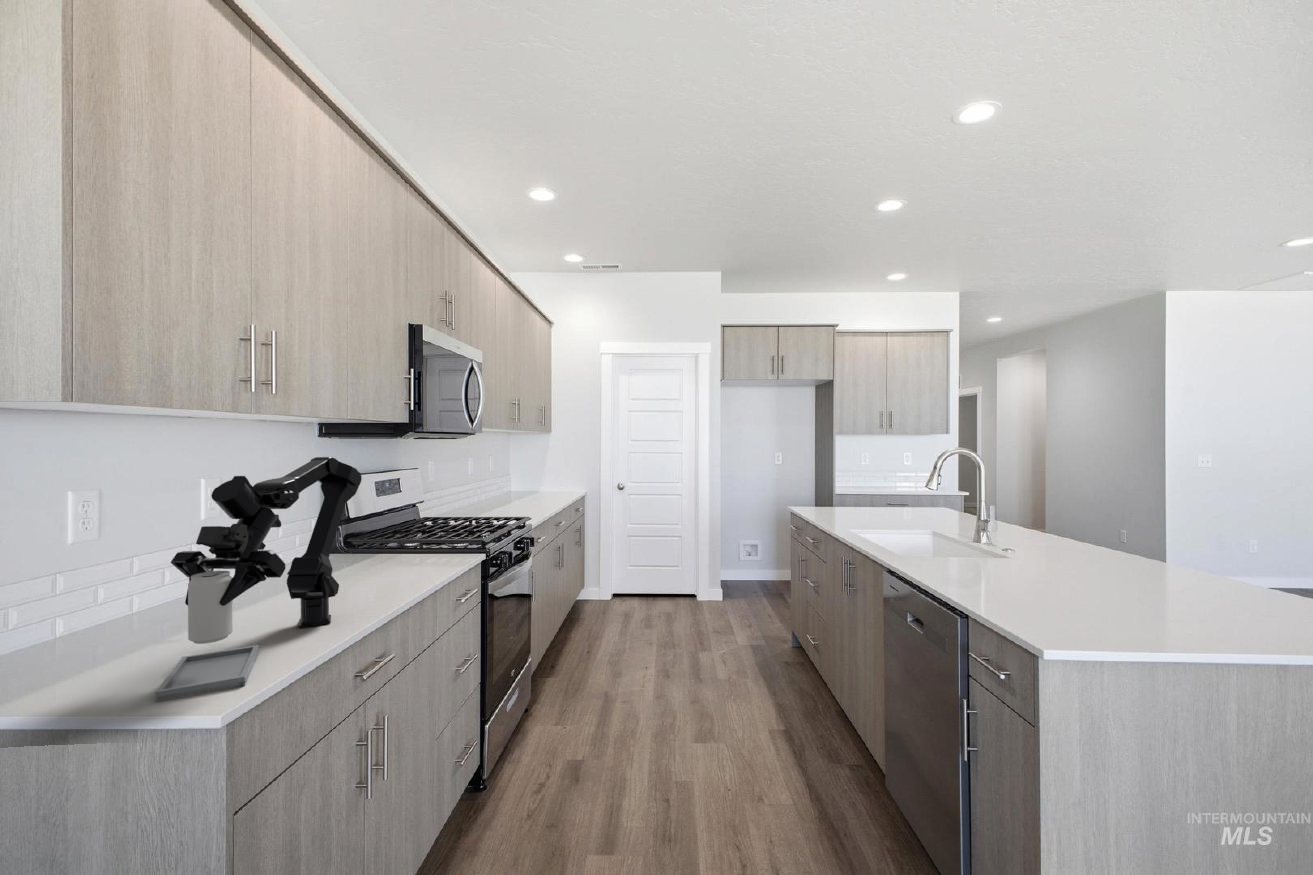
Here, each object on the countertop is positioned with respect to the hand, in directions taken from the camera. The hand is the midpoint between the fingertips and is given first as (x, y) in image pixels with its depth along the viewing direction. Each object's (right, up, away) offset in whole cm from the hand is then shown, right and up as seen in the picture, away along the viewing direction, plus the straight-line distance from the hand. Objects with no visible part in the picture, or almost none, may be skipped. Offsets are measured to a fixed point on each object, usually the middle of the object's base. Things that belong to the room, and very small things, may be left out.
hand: (204, 604), depth 102 cm
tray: (+1, -13, +1) cm, 13 cm away
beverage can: (0, -7, +1) cm, 7 cm away
